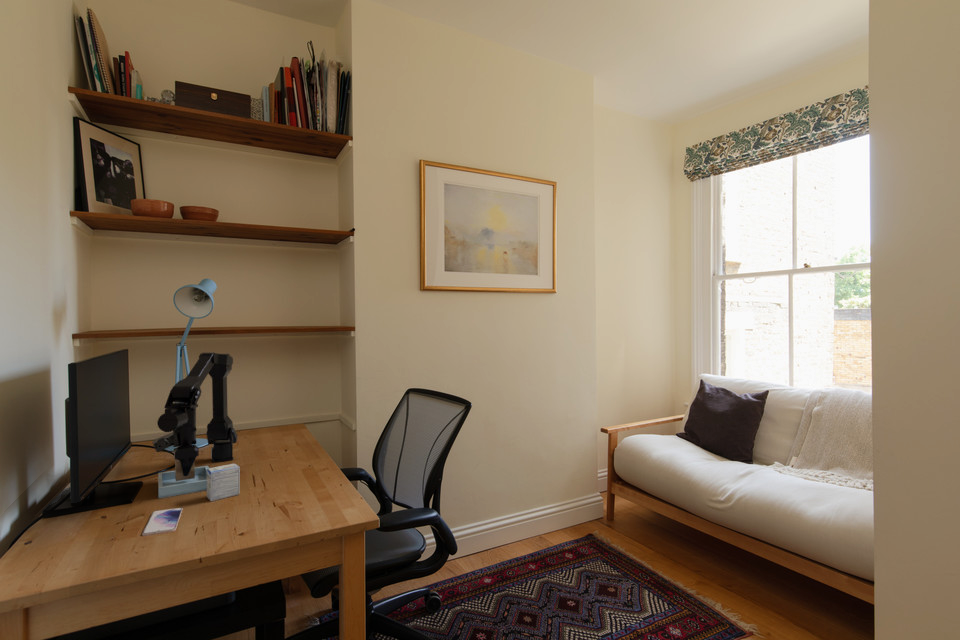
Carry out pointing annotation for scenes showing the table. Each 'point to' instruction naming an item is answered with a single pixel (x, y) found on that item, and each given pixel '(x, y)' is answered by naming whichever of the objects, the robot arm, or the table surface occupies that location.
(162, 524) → the smartphone
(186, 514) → the table surface
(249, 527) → the table surface
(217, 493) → the medicine box
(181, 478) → the walnut block
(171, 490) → the tray
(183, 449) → the robot arm
